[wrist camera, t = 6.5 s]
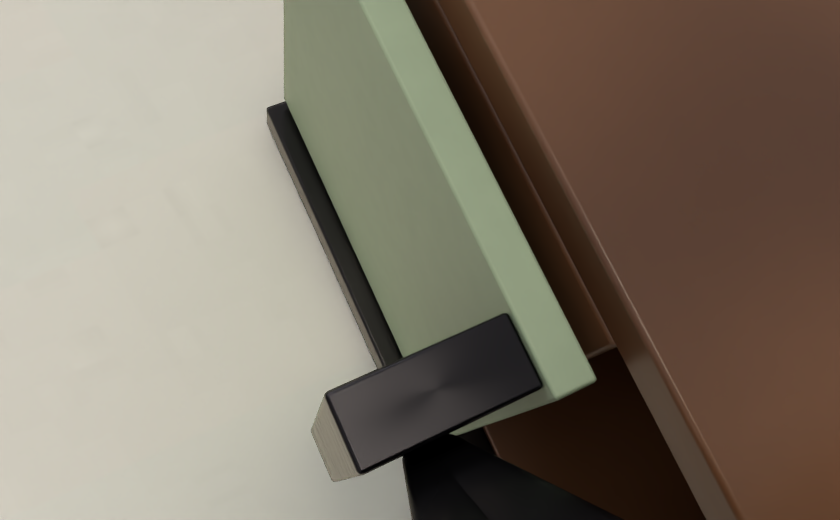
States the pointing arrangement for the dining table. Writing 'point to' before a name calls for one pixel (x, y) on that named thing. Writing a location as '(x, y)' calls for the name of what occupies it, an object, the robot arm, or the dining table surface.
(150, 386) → the dining table surface
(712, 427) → the cabinet
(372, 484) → the dining table surface
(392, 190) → the sliding cabinet door
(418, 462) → the robot arm
